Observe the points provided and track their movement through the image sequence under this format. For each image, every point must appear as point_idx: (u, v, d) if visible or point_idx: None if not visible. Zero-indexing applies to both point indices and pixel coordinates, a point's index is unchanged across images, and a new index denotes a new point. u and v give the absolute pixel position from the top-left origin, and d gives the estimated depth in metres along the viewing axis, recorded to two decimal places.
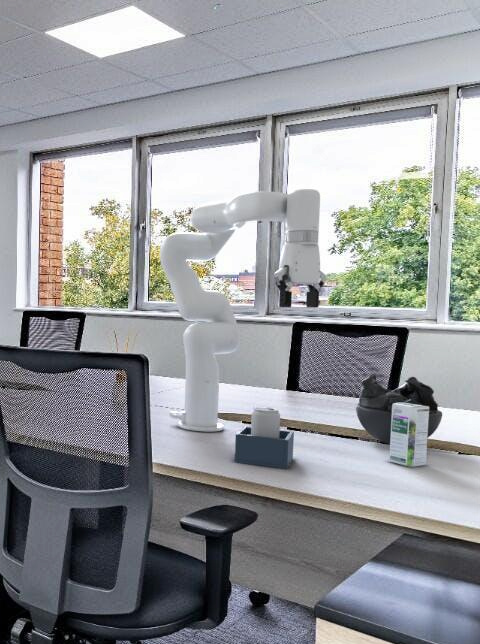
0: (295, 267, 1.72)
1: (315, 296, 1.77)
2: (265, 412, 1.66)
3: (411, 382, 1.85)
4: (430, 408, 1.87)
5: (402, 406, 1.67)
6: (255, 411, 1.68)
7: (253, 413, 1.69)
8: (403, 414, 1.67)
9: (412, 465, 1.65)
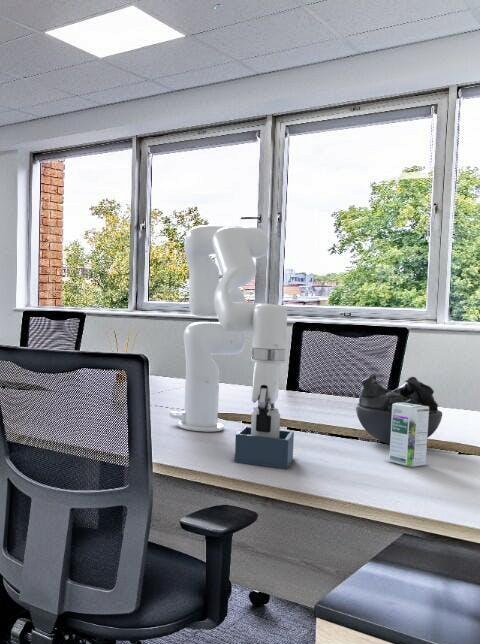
0: (274, 388, 1.64)
1: None
2: None
3: (411, 382, 1.85)
4: (430, 408, 1.87)
5: (402, 406, 1.67)
6: (255, 411, 1.68)
7: (253, 413, 1.69)
8: (403, 414, 1.67)
9: (412, 465, 1.65)
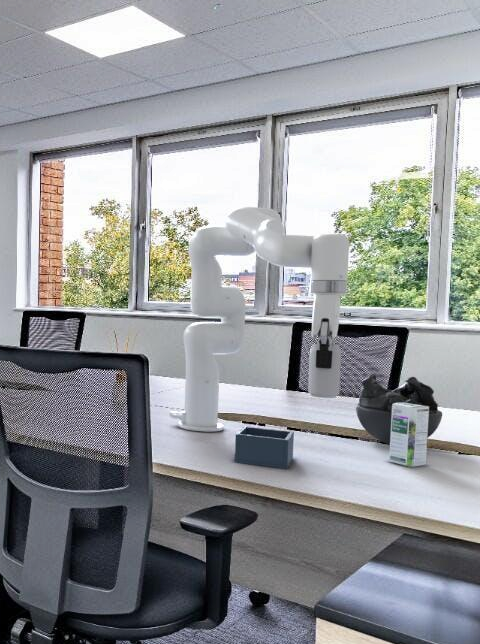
0: (336, 321, 1.55)
1: None
2: None
3: (411, 382, 1.85)
4: (430, 408, 1.87)
5: (402, 406, 1.67)
6: (314, 347, 1.60)
7: (312, 349, 1.60)
8: (402, 414, 1.67)
9: (412, 465, 1.65)
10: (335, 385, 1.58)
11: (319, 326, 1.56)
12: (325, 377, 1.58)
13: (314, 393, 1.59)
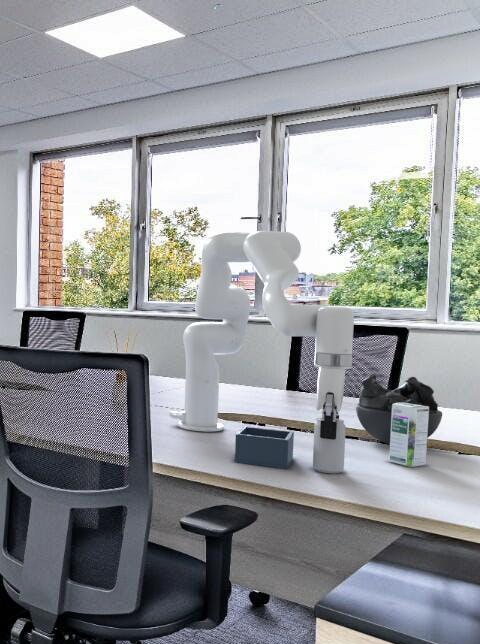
0: (340, 395, 1.55)
1: None
2: None
3: (411, 382, 1.85)
4: (430, 408, 1.87)
5: (402, 406, 1.67)
6: (319, 422, 1.60)
7: (316, 424, 1.60)
8: (402, 414, 1.67)
9: (412, 465, 1.65)
10: (340, 461, 1.58)
11: (324, 400, 1.56)
12: (330, 453, 1.58)
13: (319, 468, 1.59)
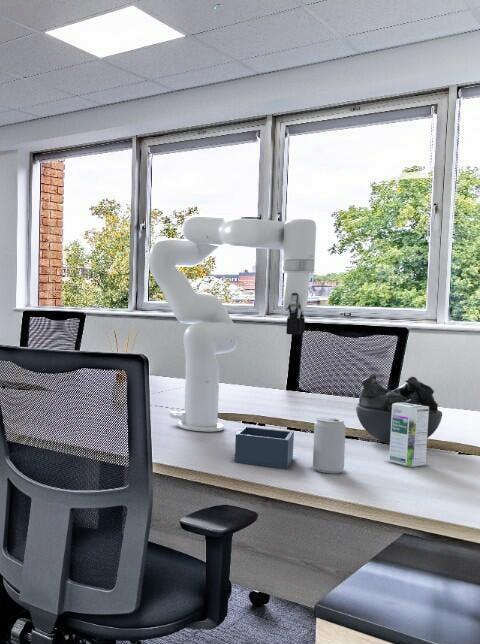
0: (304, 295, 1.76)
1: (302, 322, 1.84)
2: (330, 423, 1.58)
3: (411, 382, 1.85)
4: (430, 408, 1.87)
5: (402, 406, 1.67)
6: (319, 422, 1.60)
7: (316, 424, 1.60)
8: (402, 414, 1.67)
9: (412, 465, 1.65)
10: (340, 461, 1.58)
11: (290, 300, 1.77)
12: (330, 453, 1.58)
13: (319, 468, 1.59)
